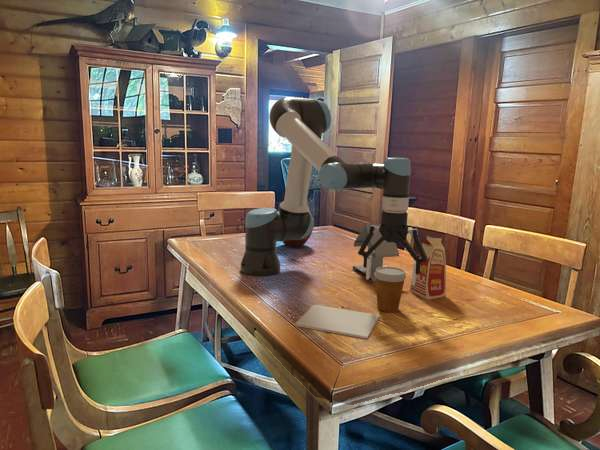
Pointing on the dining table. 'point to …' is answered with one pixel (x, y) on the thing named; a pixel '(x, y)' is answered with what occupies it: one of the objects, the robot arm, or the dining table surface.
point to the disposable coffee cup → (389, 288)
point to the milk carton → (431, 271)
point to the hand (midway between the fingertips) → (390, 281)
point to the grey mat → (338, 321)
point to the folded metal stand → (381, 251)
